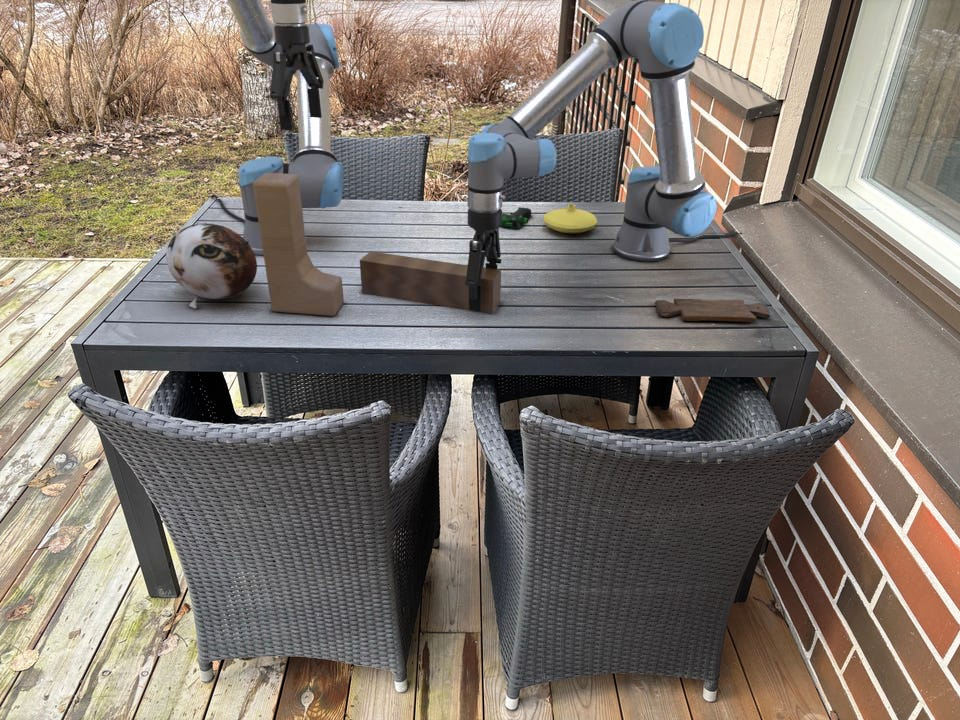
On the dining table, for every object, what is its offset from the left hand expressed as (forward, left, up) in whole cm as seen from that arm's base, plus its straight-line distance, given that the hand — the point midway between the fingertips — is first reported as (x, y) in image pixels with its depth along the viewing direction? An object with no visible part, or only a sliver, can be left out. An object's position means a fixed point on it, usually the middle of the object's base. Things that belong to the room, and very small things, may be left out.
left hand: (301, 123), depth 168 cm
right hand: (+49, +4, -34) cm, 60 cm away
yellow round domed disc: (+42, +61, -36) cm, 82 cm away
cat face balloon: (-5, -28, -36) cm, 45 cm away
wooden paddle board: (+95, +31, -36) cm, 106 cm away
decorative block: (+17, -20, -36) cm, 44 cm away
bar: (+36, 0, -36) cm, 51 cm away
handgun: (+23, +56, -36) cm, 70 cm away
